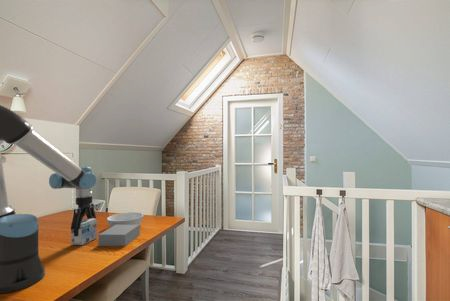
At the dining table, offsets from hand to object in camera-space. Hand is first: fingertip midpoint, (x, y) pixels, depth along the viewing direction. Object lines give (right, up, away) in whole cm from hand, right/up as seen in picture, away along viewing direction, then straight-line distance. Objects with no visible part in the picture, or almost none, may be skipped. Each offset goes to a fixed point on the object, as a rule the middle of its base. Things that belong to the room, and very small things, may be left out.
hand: (84, 237), depth 123 cm
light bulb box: (0, -2, 0) cm, 2 cm away
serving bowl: (+12, -2, +23) cm, 26 cm away
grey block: (+18, -2, +1) cm, 18 cm away
